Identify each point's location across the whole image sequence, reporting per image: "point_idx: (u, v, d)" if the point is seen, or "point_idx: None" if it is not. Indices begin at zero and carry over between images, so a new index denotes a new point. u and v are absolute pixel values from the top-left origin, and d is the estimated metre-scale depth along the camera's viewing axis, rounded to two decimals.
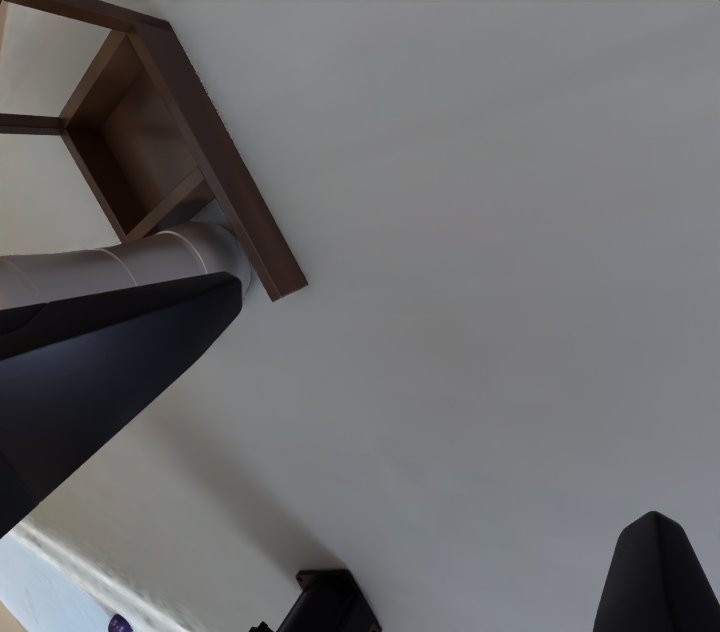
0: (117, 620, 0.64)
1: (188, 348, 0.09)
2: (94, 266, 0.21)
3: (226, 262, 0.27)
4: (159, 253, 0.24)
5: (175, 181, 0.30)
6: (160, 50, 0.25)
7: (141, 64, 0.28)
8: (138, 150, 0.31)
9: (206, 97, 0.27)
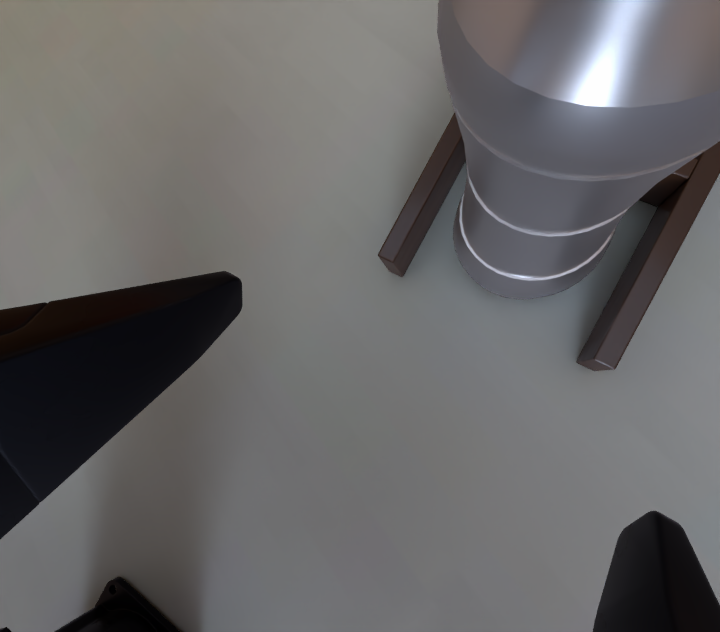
0: None
1: (188, 348, 0.09)
2: None
3: (595, 264, 0.17)
4: None
5: None
6: None
7: None
8: None
9: None
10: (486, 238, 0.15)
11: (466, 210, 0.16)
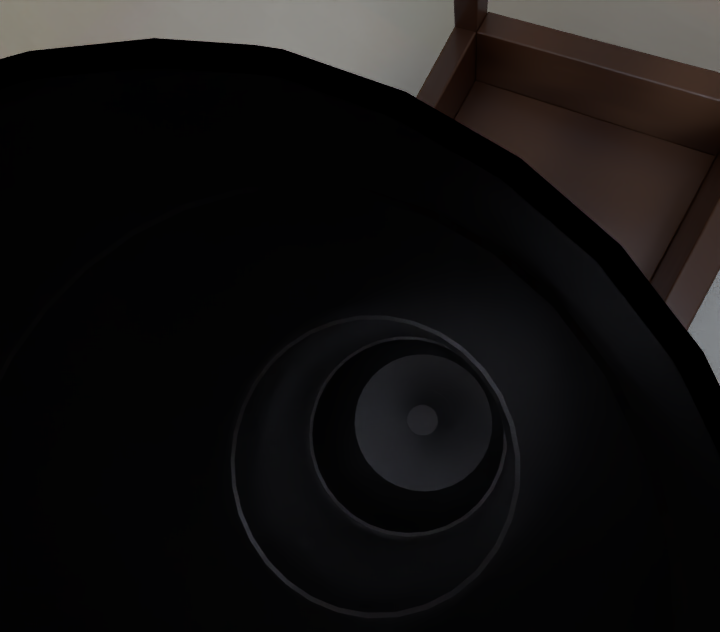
0: None
1: None
2: None
3: None
4: None
5: None
6: None
7: (659, 131, 0.15)
8: None
9: None
10: (307, 512, 0.10)
11: None
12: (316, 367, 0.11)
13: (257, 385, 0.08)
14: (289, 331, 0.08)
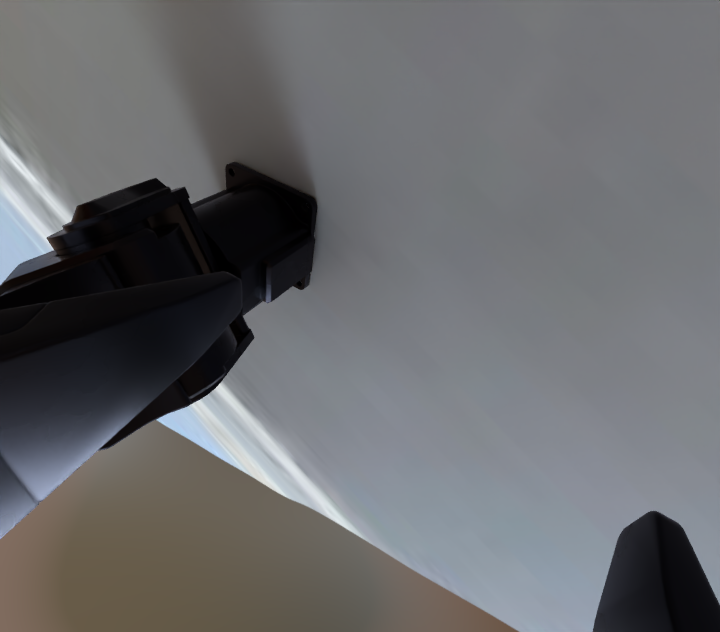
0: None
1: (188, 348, 0.09)
2: None
3: None
4: None
5: None
6: None
7: None
8: None
9: None
10: None
11: None
12: None
13: None
14: None
